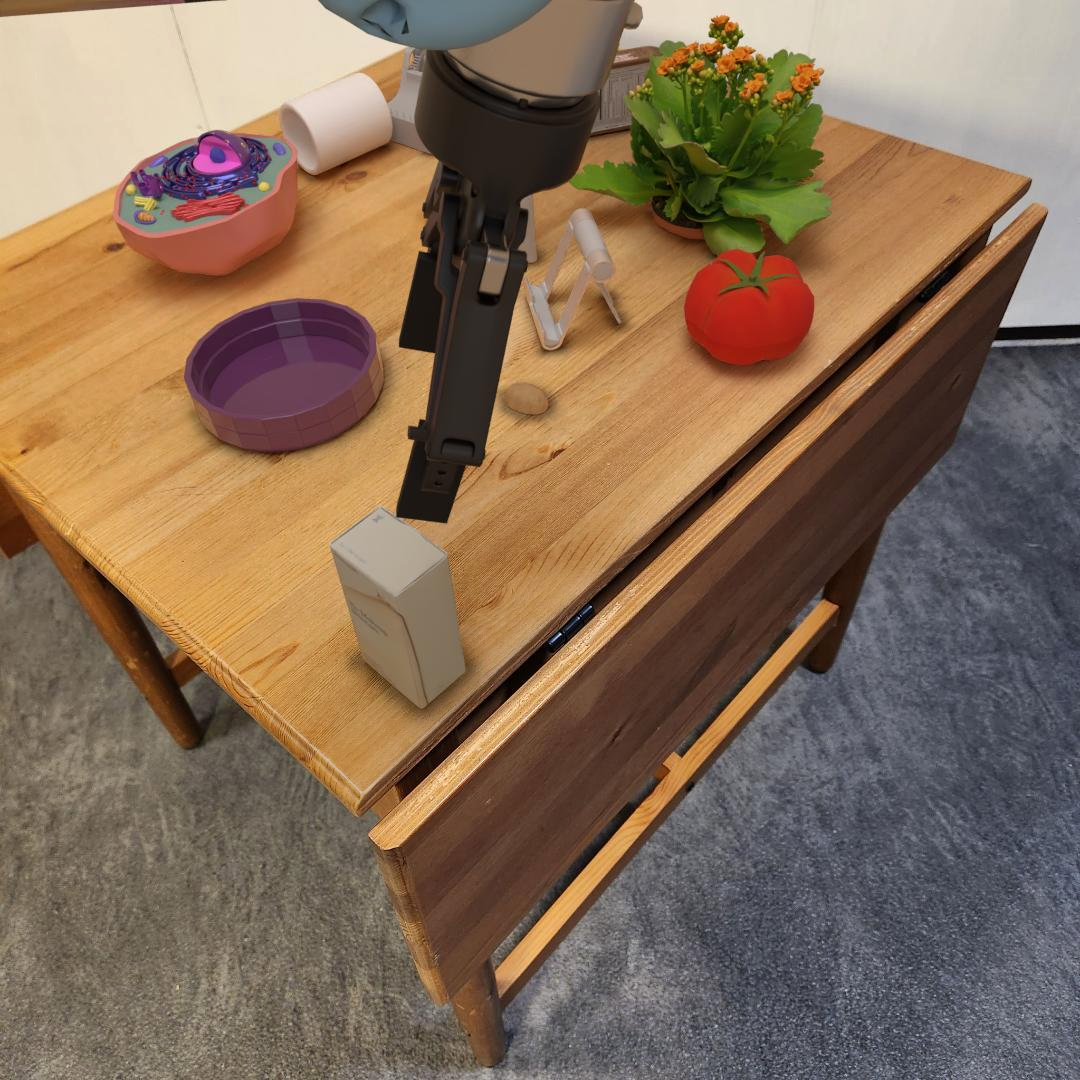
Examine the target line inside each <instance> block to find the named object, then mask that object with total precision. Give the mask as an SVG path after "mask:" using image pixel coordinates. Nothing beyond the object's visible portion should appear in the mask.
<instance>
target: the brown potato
mask: <svg viewBox="0 0 1080 1080" xmlns="http://www.w3.org/2000/svg"><path fill="white" fill-rule="evenodd" d="M504 399H505V404H506V405H507V406H508V407H509V408H511V410H513V411H516V412H518V413H522V414H525V415H534V416H535V415H541V414H543V413H545V412H546V411H548V408H549V406H550V405H549V401H548V397H547V394H546V393H545V392H544V391H543V390H542V389H540V388H539V387H538V386H536V385H533V384H531V383H528V382H527V383H526V382H515V383H512V384H511V385H509V386H507V389H506V392H505V397H504Z"/></svg>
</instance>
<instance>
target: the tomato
mask: <svg viewBox="0 0 1080 1080" xmlns="http://www.w3.org/2000/svg"><path fill="white" fill-rule="evenodd" d="M765 253H766V251H765V250H764V251H763V252H762V253H761V254H760V255H759V256H758V258H756V256H755V253H748V252H745V251H742V250H739V249H734V250H729V251H724V252H723V253H722V254H720V255H719V256H716V258H715V259H714V260H713V262H711V263H708V264H707V265H705V266H704V267H703V268H701V269H699V270H698V271H697V272H696V274H695V276H694V277H693V279H692V281H691V283H690V286H689V288H688V291H686V292H687V293H686V296H685V300H684V305H683V313H684V320H685V324H686V329H687V332H688V333H689V336H690V337H691V340H693V341H695V342H696V343H698V344H699V345H700V346H702V347H703V348H704V349H705V350H706V351H707V352H708V353H709V355H710V356H712V358H715V359H716V360H719V361H721V362H725V363H727V364H729V365H736V366H743V367H747V366H750V365H753V364H755V363H757V362H760V361H763V360H766V361H775V360H780V359H781V360H782V358H784V357H787V356H788V355H790V354H791V353H793V352H795V351H796V349H797V348H798V347H799V346H800V345H801V343H802V342H803V341H804V339H805V338H806V337H807V335H808V334H809V333H810V332H809V331H810V329H811V327H812V325H813V320H814V313H815V295H814V293H813V292H812V290H811V288H810V287H809V286H808V284H807V283H805V281H804V279H803V276H802V274H801V273H800V270H799V268H798V265H797V264H796V263H795V262H794V261H793V260H791V259H790V258H789V257H785V256H784V255H781V254H775V255H767V256H765Z"/></svg>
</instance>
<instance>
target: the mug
mask: <svg viewBox="0 0 1080 1080" xmlns="http://www.w3.org/2000/svg"><path fill="white" fill-rule="evenodd" d="M387 103H388V102H387V100H386V98H385V96H384V94H383V92H382V90H381V88H380V87H379V86H378V84H377V83H376V82H375V81H374V80H373V78H371V77H370V76H369V75H368V74H366V73H363V72H355V73H352V74H350V75H348V76H346V77H342V78H340V79H338V80H335V81H333V82H331V83H328V84H326V85H323V86H321V87H318V88H316V89H313V90H311V91H308V92H306V93H303V94H301V95H299V96H296V97H293V98H291V99H288V100H285V101H283V102H282V103H281V105H280V107H279V109H278V110H279V111H278V121H279V127H280V130H281V134H282V136H283V137H282V138H283V139H286V140H288V141H289V142H291V143H292V144H293V145H294V146H295V147H296V150H297V153H298V165H299V166H300V168H302V169H303V170H304V171H305V172H306V173H307V174H310V175H313V176H317V175H320V174H322V173H324V172H326V171H329V170H331V169H333V168H335V167H338V166H341V165H342V164H344V163H347V162H349V161H351V160H353V159H355V158H358V157H360V156H362V155H365V154H367V153H369V152H371V151H373V150H376V149H378V148H380V147H382V146H384V145H387V144H388V143H389V142H390V141H391V140H390V139H391V136H392V118H391V114H390V110H389V107H388V104H387Z"/></svg>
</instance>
